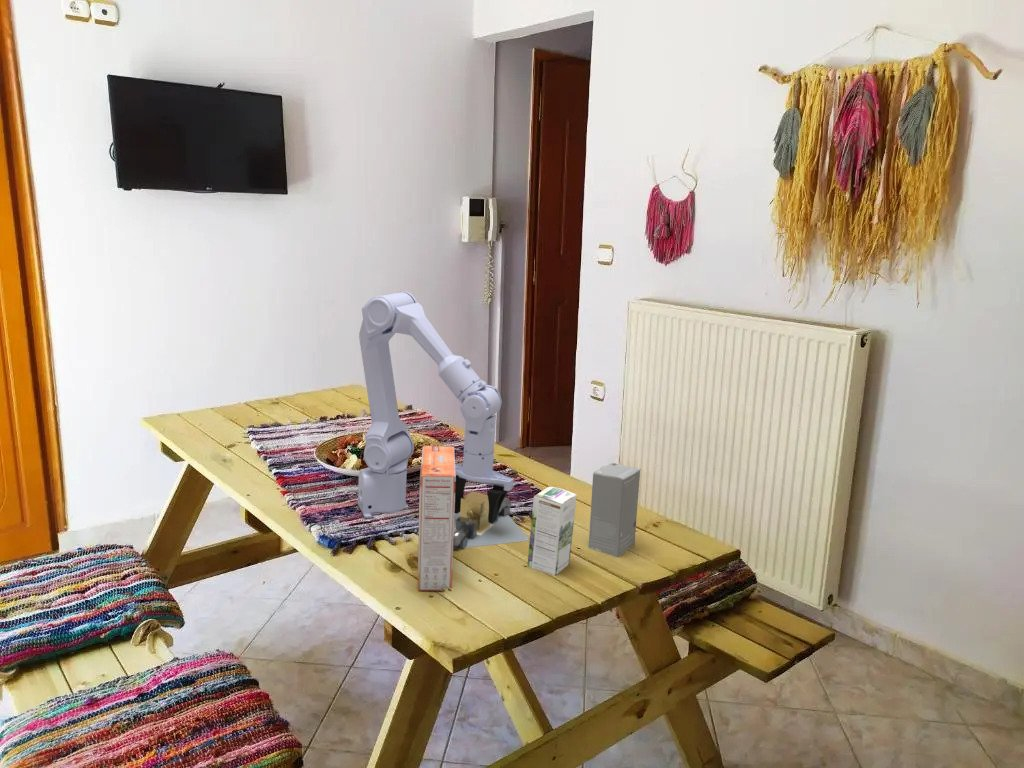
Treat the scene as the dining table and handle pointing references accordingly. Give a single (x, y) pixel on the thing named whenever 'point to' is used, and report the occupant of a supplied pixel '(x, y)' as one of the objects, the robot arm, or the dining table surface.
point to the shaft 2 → (504, 508)
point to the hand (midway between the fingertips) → (475, 516)
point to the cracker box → (436, 518)
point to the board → (496, 533)
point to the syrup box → (551, 530)
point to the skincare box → (614, 509)
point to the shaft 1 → (464, 532)
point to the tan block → (476, 509)
